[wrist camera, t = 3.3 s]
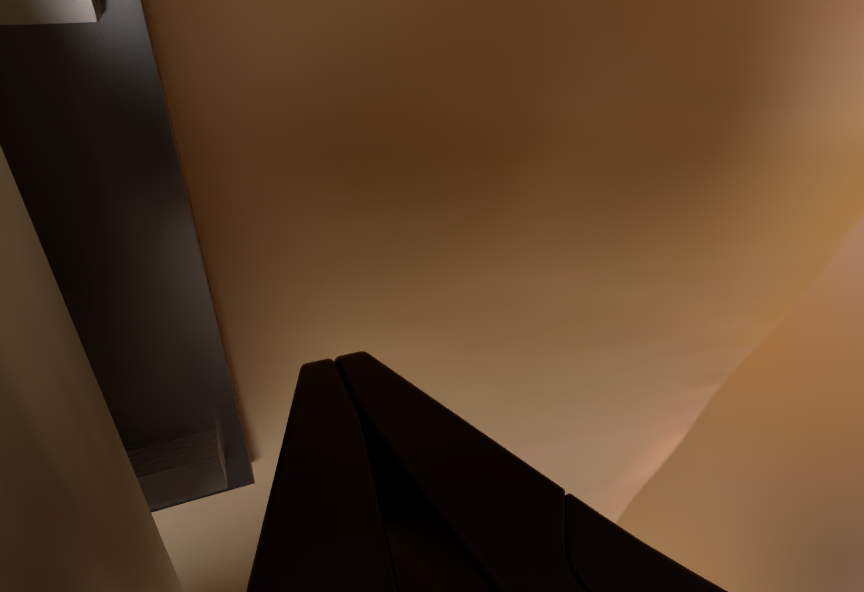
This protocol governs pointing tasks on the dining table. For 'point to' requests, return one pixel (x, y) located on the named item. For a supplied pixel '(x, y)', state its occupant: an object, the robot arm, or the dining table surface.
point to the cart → (61, 442)
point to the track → (121, 236)
